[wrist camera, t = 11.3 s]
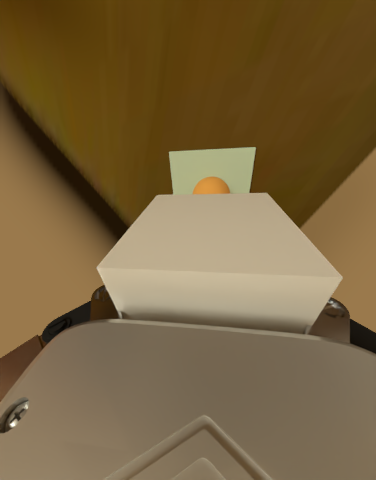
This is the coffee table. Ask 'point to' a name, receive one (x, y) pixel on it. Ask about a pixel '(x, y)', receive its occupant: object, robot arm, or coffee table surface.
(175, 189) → the mark
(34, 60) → the coffee table surface
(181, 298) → the cream matte cube
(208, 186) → the ball
